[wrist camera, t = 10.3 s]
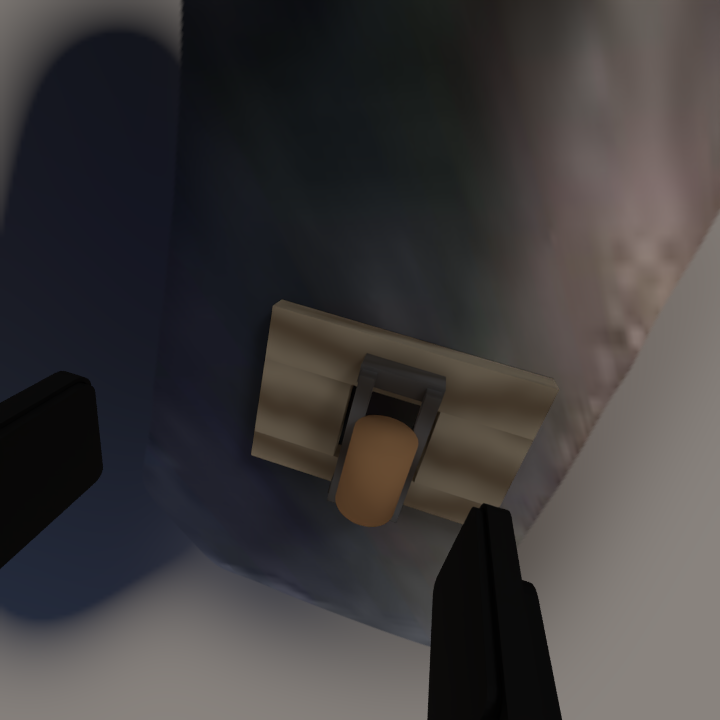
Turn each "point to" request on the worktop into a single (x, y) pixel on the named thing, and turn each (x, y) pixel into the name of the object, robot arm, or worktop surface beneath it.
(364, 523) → the tan cylinder
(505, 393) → the wooden plate
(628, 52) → the worktop surface
